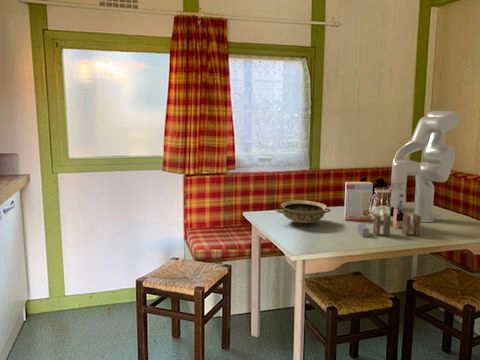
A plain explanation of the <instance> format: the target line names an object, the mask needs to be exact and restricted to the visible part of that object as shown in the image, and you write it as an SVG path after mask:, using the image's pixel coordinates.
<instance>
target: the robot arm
mask: <svg viewBox="0 0 480 360" xmlns="http://www.w3.org/2000/svg"><path fill="white" fill-rule="evenodd" d="M459 122H460V115H459V113H458V112H456V111H454V110H453V111H452V110H451V111H449V110H433V111H429V112H428V113H426V116H422V117H421V118H420V119H419V120H418V122H417V124H416V127H415V129H414V130H413V134H412V136H411V139H410V140H409V141H408V142H406V143H405V144H404V145H402V147H400V148H399V149H398V150H397V152H396V153H395V156H394V158H393V160H392V163H391V178H390V189H391V190H390V193H391V197H390V199H389V201H390V207H389V208H390V212H389V215H390V216H391V217H392V218H393V213H394V208H396V209H397V212H398V213H397V218H396V221H400V222H403V215H404V213H405V210H406V208H407V193H406V192H407V191H406V190H407V183H408V182H407V181H408V176H412V177H413V176H414V177H415V178H414V179H415V189H414V190H415V191H414V204H413V206H414V207H413V213H417V214H418V215H420V216H421V219H420V223H433V222H435V221H436V218H442V213H441V212H438V213H437V212H434V200H435V199H434V195H435V186H434V184H433V182H435V183H436V182H437V183H444V182H446V181H447V180H448V179H449V177H450V174H451V171H452V168H453V166H454V163H455V158H456V149H455V148H454V146H453V145H449V144H445V143H446V139H447V137H446V133H447V132H448V131H450V130H452V129H454V128H455V127H457V126H458V124H459ZM421 150H423V159H424V160H426V161H425V162H424V161H422V162H417V161H415V160H408V159H406V157H407V156H409V155H410V154H412V153H415V152H418V151H421ZM427 161H428V162H427ZM399 210H400V211H399ZM410 216H411V220H412V221H413V214H412V215H410Z"/></svg>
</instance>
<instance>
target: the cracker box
mask: <svg viewBox="0 0 480 360" xmlns="http://www.w3.org/2000/svg"><path fill="white" fill-rule="evenodd" d="M373 185H374V183H373V182H372V181H366V182H359V181H345V182H344V209H343V210H344V213H343V214H344V215H343V216H344V217H343V218H344V220H345V221H354V222H355V221H357V222H358V221H361V222H371V221H372V214H371V215H370V212H369V207H370V206H369V203H370V202H369V201H370V200H369V199H370V198H371V197H372V191H373Z"/></svg>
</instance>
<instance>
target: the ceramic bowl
mask: <svg viewBox="0 0 480 360" xmlns="http://www.w3.org/2000/svg"><path fill="white" fill-rule="evenodd" d="M280 207H281V208H282V209H278V208H277V209H275V212H276V213H278V214H283V216H284V217H285V219H287V220H290V221H293V222H294V224H296V225H298V226H309V225H311V223H313V222H317V221H319V220H321V219H323V218H324V215H325V214H326V213H331V212H332V209H331V208H328V207H327V205H326V204H325V203H321V202H317V201H311V200H298V199H297V200H288V201H284V202H282V203H281V204H280Z"/></svg>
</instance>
